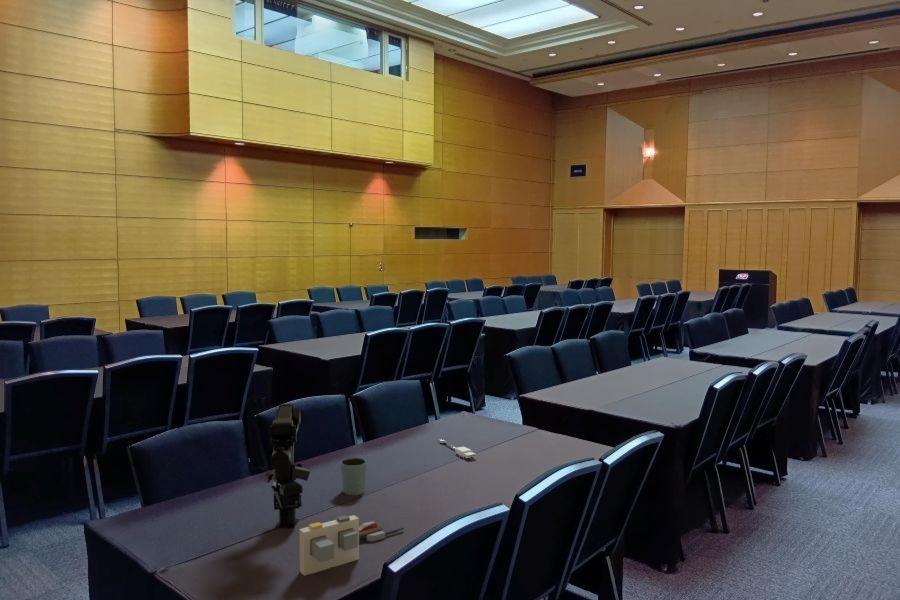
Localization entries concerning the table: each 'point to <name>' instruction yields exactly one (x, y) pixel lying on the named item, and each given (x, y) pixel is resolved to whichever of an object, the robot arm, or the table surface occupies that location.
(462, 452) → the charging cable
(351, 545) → the button dark
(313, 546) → the grey rectangular block
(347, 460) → the grey green cup
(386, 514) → the table surface
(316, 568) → the console
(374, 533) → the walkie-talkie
